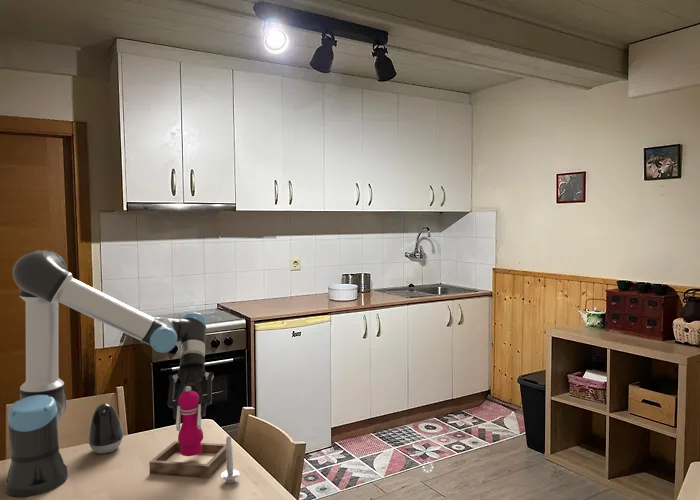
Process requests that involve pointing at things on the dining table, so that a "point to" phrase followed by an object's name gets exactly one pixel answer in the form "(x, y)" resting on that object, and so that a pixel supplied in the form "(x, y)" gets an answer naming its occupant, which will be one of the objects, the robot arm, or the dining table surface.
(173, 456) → the walnut tray
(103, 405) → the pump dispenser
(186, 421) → the pepper mill
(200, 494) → the dining table surface
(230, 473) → the screw
